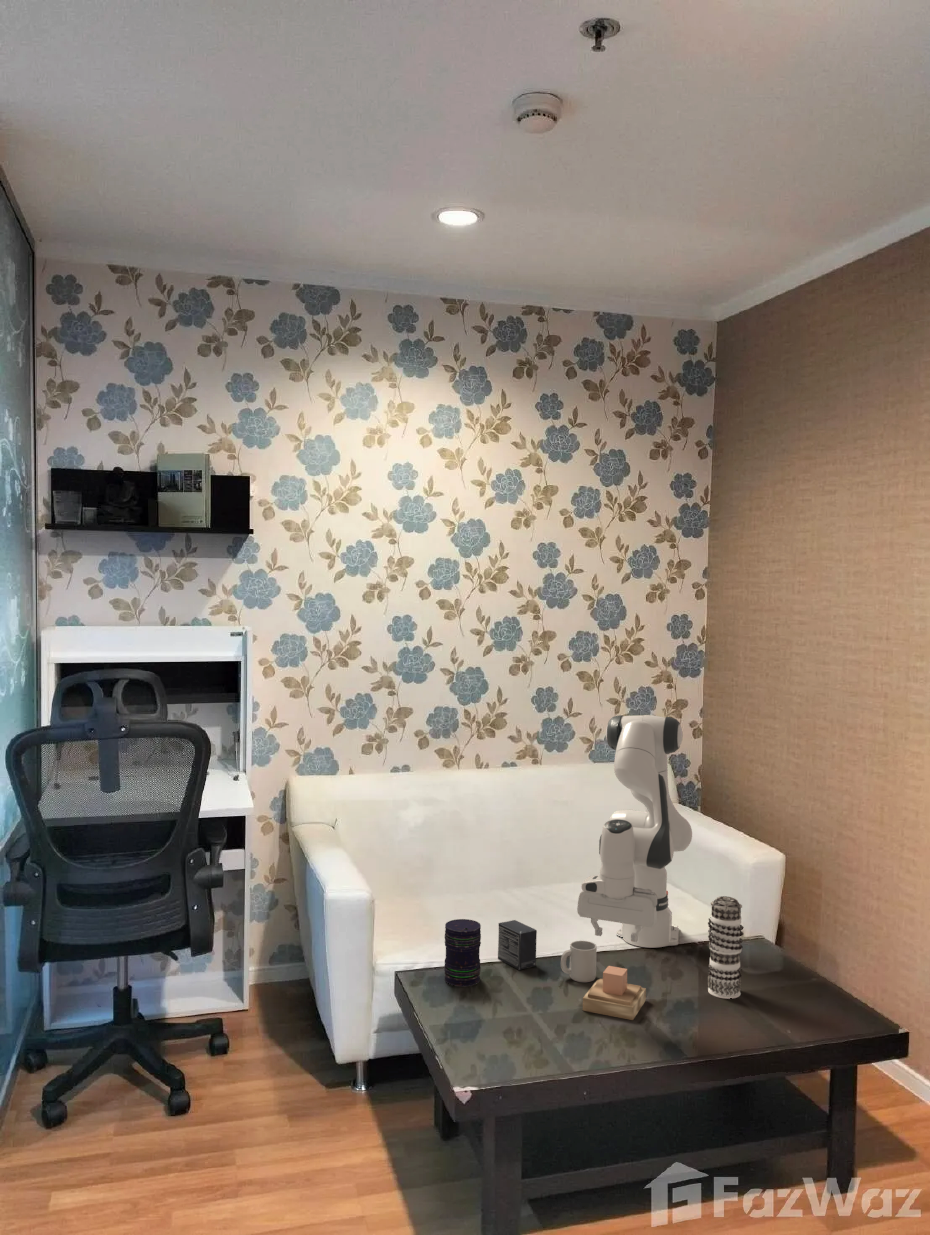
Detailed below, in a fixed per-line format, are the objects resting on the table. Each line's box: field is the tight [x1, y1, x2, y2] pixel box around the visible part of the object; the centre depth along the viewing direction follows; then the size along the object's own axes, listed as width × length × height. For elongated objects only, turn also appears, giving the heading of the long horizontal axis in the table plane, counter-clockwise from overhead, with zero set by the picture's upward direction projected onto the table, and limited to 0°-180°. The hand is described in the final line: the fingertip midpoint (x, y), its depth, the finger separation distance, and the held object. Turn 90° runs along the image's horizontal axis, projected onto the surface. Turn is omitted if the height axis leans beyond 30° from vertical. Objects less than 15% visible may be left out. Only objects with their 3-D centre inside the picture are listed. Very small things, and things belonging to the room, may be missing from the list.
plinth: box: [582, 978, 647, 1021], centre depth 258 cm, size 13×13×4 cm
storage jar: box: [443, 918, 482, 988], centre depth 273 cm, size 10×10×15 cm
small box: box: [497, 919, 538, 971], centre depth 286 cm, size 11×6×10 cm, turn 34°
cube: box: [602, 965, 628, 995], centre depth 258 cm, size 5×5×5 cm
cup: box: [560, 940, 598, 983], centre depth 275 cm, size 7×10×9 cm
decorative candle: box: [707, 895, 744, 1000], centre depth 267 cm, size 9×9×25 cm
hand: (616, 938), depth 258 cm, fingers open, 8 cm apart
